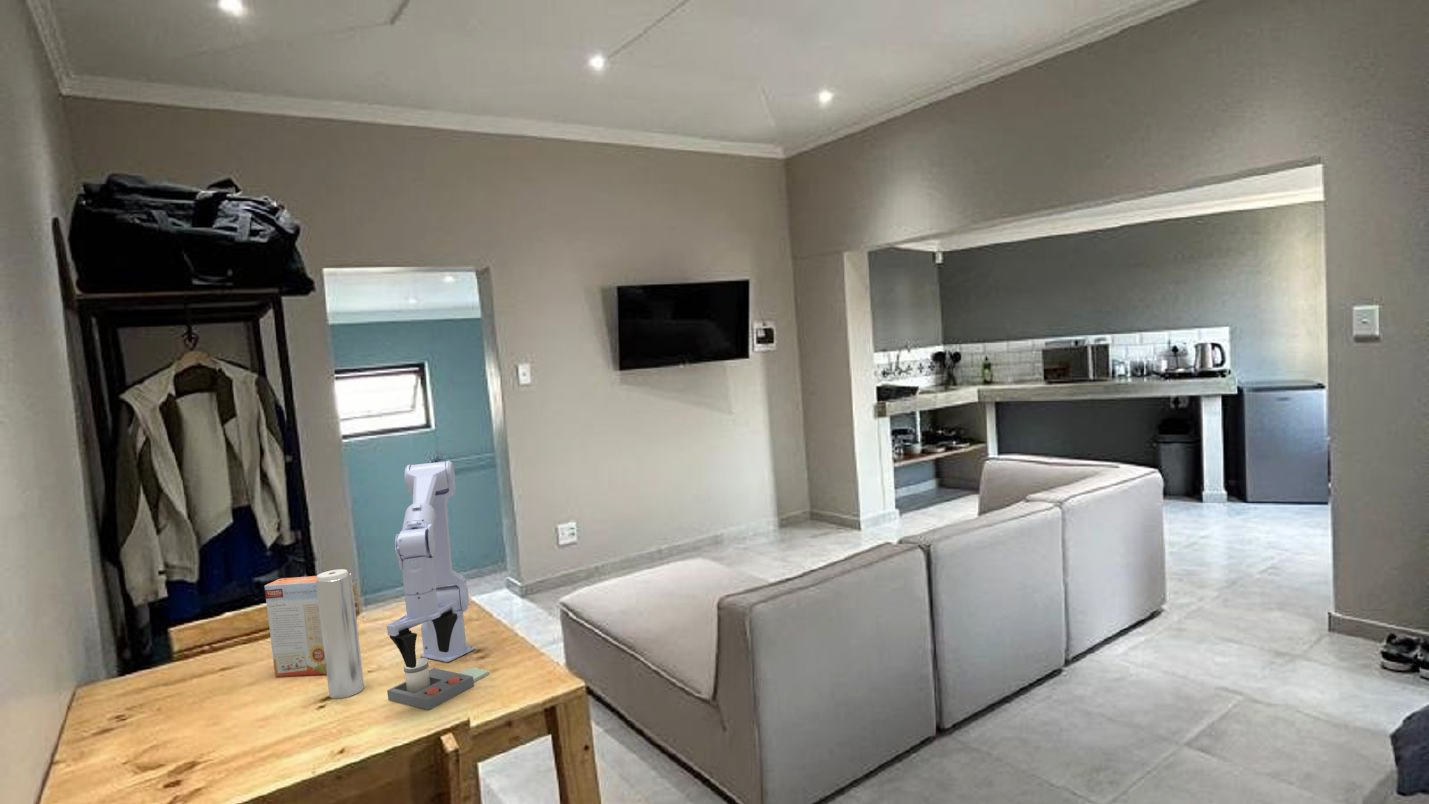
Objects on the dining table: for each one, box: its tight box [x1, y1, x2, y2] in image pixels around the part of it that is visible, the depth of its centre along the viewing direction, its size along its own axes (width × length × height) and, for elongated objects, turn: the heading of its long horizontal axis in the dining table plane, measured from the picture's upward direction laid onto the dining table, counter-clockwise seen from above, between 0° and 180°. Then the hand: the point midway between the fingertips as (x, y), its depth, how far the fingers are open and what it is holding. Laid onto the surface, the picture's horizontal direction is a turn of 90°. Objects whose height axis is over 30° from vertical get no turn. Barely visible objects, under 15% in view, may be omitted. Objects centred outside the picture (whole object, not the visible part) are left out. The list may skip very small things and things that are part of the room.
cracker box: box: [263, 575, 327, 678], centre depth 165 cm, size 14×6×21 cm, turn 84°
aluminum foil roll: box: [316, 568, 365, 700], centre depth 152 cm, size 6×6×25 cm
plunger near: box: [427, 687, 439, 696], centre depth 144 cm, size 2×2×2 cm
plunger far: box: [448, 676, 460, 685], centre depth 148 cm, size 2×2×2 cm
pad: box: [458, 667, 490, 683], centre depth 155 cm, size 6×5×1 cm
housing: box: [386, 667, 475, 711], centre depth 148 cm, size 12×11×2 cm
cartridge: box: [403, 657, 430, 693], centre depth 148 cm, size 5×5×6 cm
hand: (427, 658), depth 144 cm, fingers open, 7 cm apart
